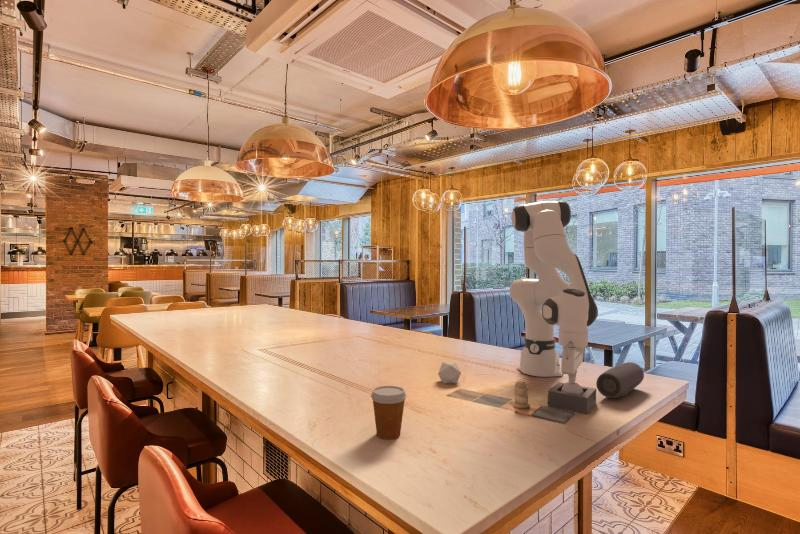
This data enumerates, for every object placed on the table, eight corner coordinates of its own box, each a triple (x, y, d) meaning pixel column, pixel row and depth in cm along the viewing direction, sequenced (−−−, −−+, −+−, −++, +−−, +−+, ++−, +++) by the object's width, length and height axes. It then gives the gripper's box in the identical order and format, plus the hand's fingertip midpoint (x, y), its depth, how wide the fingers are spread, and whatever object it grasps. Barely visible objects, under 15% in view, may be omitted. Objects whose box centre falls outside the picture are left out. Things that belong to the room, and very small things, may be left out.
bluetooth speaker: (618, 384, 166) (618, 358, 166) (645, 390, 159) (645, 363, 159) (593, 398, 150) (594, 369, 150) (622, 405, 144) (623, 374, 143)
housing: (558, 396, 151) (558, 382, 151) (596, 403, 144) (596, 388, 144) (547, 406, 142) (547, 390, 142) (587, 414, 135) (587, 398, 134)
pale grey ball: (563, 397, 148) (564, 377, 148) (586, 402, 144) (586, 381, 144) (557, 403, 142) (557, 382, 142) (580, 408, 138) (581, 386, 138)
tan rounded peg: (519, 402, 143) (518, 378, 144) (533, 406, 139) (532, 380, 140) (509, 405, 140) (509, 380, 140) (524, 409, 136) (523, 383, 136)
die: (454, 389, 160) (467, 367, 163) (434, 377, 162) (447, 354, 165) (451, 391, 168) (463, 369, 171) (432, 379, 170) (444, 357, 172)
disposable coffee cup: (370, 428, 122) (370, 385, 122) (404, 427, 123) (404, 384, 123) (371, 442, 113) (371, 396, 113) (407, 441, 114) (408, 395, 113)
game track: (459, 389, 158) (459, 388, 158) (574, 413, 135) (574, 412, 135) (445, 396, 150) (445, 395, 150) (565, 423, 127) (565, 421, 127)
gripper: (578, 346, 132) (577, 391, 132) (587, 335, 149) (587, 376, 150) (556, 343, 135) (555, 388, 135) (568, 334, 153) (567, 373, 153)
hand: (572, 382), depth 143 cm, fingers closed, pressing on pale grey ball
